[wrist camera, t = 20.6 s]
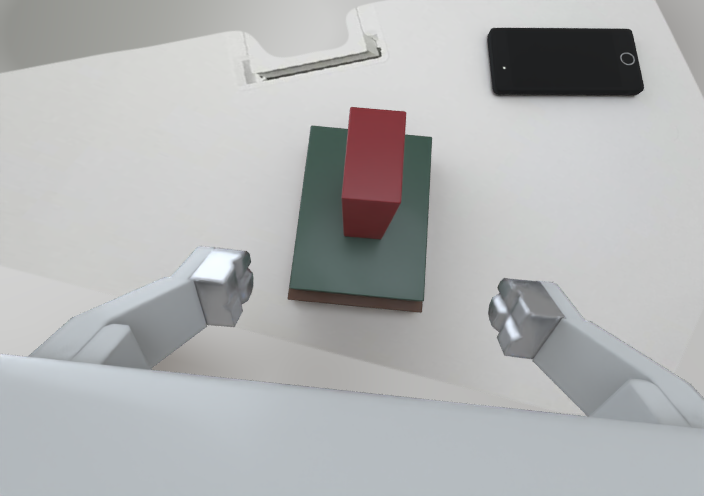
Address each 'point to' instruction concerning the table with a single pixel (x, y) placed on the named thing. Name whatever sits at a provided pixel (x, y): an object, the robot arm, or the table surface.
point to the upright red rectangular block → (372, 171)
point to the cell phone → (564, 61)
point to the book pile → (353, 252)
